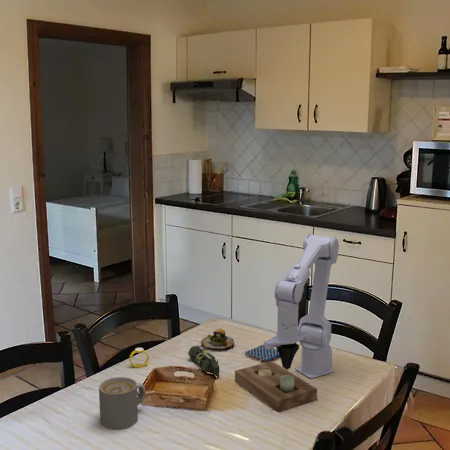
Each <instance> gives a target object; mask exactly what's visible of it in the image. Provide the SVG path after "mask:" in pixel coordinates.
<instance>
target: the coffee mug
mask: <svg viewBox="0 0 450 450" xmlns="http://www.w3.org/2000/svg"><path fill="white" fill-rule="evenodd" d="M98 385H99V386H98V391H99V392H98V397H99V398H98V399H99V421H100V425H101V426H102V427H103V428H105V429H109V430H114V431H115V430H116V431H118V430H125V429H128V428H130V427H132V426H134V425H135V424H136V423H137V422H138V420H139V414H138V413H139V411H138V406H139V405H140V404H141V403H143V401H144V400H145V397H146V387H145V385H144V384H143V383H141V382H137V381H136V380H135V379H134V378H132V377H128V376H127V377H126V376H115V377H110V378H107V379H105V380H104V381H102V382H101V383H99V384H98ZM138 390H139V393H138Z"/></svg>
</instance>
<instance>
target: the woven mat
mask: <svg viewBox="0 0 450 450" xmlns="http://www.w3.org/2000/svg"><path fill="white" fill-rule="evenodd" d="M244 357H246V358H249V359H251V360H254V361H257V362H259V363H261V364H262V363H266V362H270V361H273V362H275V361H276V360H279V359H281V358H280V355H279V352H278V350H277V348H275V347H274V348H271V349H270V350H268V349H266V348H264V344H260V346H259V345H258V346H257V347H254V348H251V350H248V351H245V352H244Z"/></svg>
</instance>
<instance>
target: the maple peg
mask: <svg viewBox="0 0 450 450" xmlns="http://www.w3.org/2000/svg"><path fill="white" fill-rule="evenodd" d="M271 373H272V372H271V371H270V370H268V369H261V370H259V371H258V375H259V376H260V377H262V378H266V377H269V376H271Z"/></svg>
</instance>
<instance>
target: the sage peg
mask: <svg viewBox="0 0 450 450" xmlns="http://www.w3.org/2000/svg"><path fill="white" fill-rule="evenodd" d="M280 390H281V391H283V392H292V391H294V377H293V376H291V375H282V376H281V377H280Z"/></svg>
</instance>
